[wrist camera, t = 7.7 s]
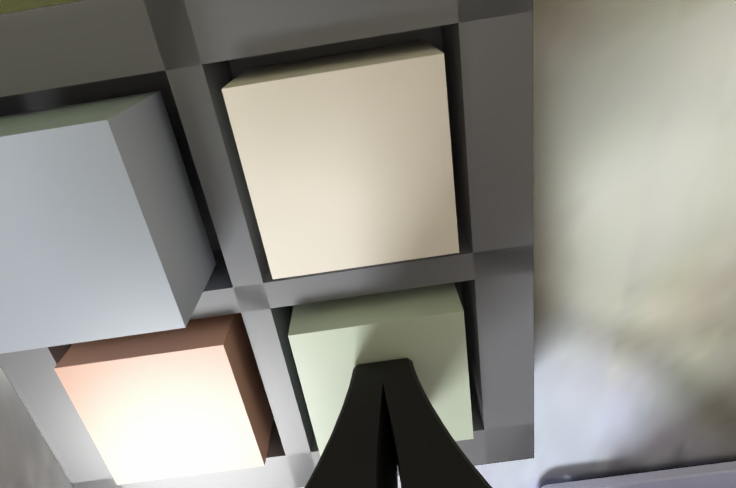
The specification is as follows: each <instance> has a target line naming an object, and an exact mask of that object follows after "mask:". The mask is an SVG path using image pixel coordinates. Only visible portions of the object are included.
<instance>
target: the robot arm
mask: <svg viewBox="0 0 736 488" xmlns="http://www.w3.org/2000/svg"><path fill="white" fill-rule="evenodd" d="M397 466H398V471H399V476H400V481H401V488H492V487H491V486H490V485H489V484H488V482H487V481H486V480H485V479H484V478H483V476H482V475H481V474H480V473H479V472H478V470H477V469H476V468H475V467H474V466H473V464H472V463H471V462H470V460H469V459H468V458H467V457H466V455H465V454H464V453H463V451H462V450H461V449H460V447H459V446H458V444H457V443H456V442H455V440H454V439H453V437H452V436H451V434H450V433H449V431H448V430H447V428H446V427H445V425H444V424H443V422H442V421H441V419H440V417H439V416H438V414H437V413H436V411H435V409H434V408H433V406H432V404H431V403H430V401H429V399H428V397H427V395H426V393H425V391H424V389H423V387H422V385H421V383H420V381H419V379H418V377H417V374H416V371H415V369H414V365H413V361H412V360H410V359H409V358H402V359H394V360H387V361H380V362H372V363H365V364H358V365H356V366H355V367H354V369H353V372H352V377H351V381H350V384H349V388H348V391H347V394H346V397H345V400H344V403H343V406H342V409H341V411H340V414H339V416H338V419H337V421H336V424H335V426H334V429H333V431H332V434H331V436H330V438H329V440H328V442H327V444H326V447H325V449H324V451H323V453H322V455H321V457H320V459H319V461H318V463H317V465H316V467H315V469H314V471H313V473H312V475H311V477H310V479H309V480H308V482H307V484H306V486H305V488H398V479H397ZM541 488H736V461H732V462H724V463H716V464H708V465H700V466H692V467H684V468H676V469H668V470H660V471H652V472H644V473H636V474H628V475H620V476H612V477H604V478H596V479H588V480H580V481H572V482H564V483H556V484H548V485H544V486H542V487H541Z"/></svg>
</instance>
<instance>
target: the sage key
mask: <svg viewBox="0 0 736 488" xmlns="http://www.w3.org/2000/svg"><path fill="white" fill-rule="evenodd" d="M288 338H289V342H290V345H291V349H292V353H293V356H294V360H295V364H296V368H297V371H298V375H299V379H300V382H301V386H302V390H303V394H304V397H305V401H306V405H307V408H308V412H309V416H310V419H311V423H312V427H313V431H314V434H315V438H316V442H317V445H318V449H319V453H320V457H321V455H322V453H323V451H324V449H325V447H326V444H327V442H328V440H329V438H330V436H331V434H332V431H333V429H334V426H335V424H336V421H337V419H338V416H339V414H340V411H341V409H342V406H343V403H344V400H345V397H346V394H347V391H348V388H349V384H350V381H351V377H352V372H353V369H354V367H355V366H356V365H358V364H365V363H372V362H380V361H387V360H394V359H402V358H409V359H410V360H412V361H413V365H414V369H415V371H416V374H417V377H418V379H419V381H420V383H421V385H422V387H423V389H424V391H425V393H426V395H427V397H428V399H429V401H430V403H431V404H432V406H433V408H434V409H435V411H436V413H437V414H438V416H439V417H440V419H441V421H442V422H443V424H444V425H445V427H446V428H447V430H448V431H449V433H450V434H451V436H452V437H453V439H454V440H455V441H461V440H469V439H474V437H473V424H472V411H471V398H470V385H469V372H468V359H467V346H466V333H465V320H464V310H463V308H462V305H461V302H460V299H459V296H458V293H457V290H456V287H455V284H454V283H447V284H440V285H433V286H426V287H419V288H412V289H405V290H397V291H390V292H383V293H376V294H369V295H362V296H355V297H348V298H341V299H334V300H327V301H320V302H313V303H306V304H299V305H293V311H292V316H291V322H290V327H289V333H288Z"/></svg>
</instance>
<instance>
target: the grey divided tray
mask: <svg viewBox="0 0 736 488" xmlns="http://www.w3.org/2000/svg"><path fill="white" fill-rule="evenodd" d="M422 40H426V41H428V42H429V43H430V44H432V45H433V46H435V47H436V48H437V49H439V50H440V51H441V52H443V53H444V60H445V73H446V86H447V99H448V112H449V125H450V138H451V151H452V164H453V177H454V190H455V203H456V216H457V229H458V242H459V253H454V254H447V255H440V256H433V257H426V258H419V259H412V260H405V261H398V262H391V263H384V264H377V265H370V266H363V267H356V268H349V269H342V270H335V271H328V272H322V273H315V274H308V275H301V276H294V277H287V278H280V279H272V275H271V271H270V268H269V264H268V260H267V257H266V253H265V249H264V245H263V242H262V238H261V234H260V231H259V227H258V223H257V219H256V216H255V212H254V208H253V205H252V201H251V197H250V193H249V190H248V186H247V182H246V179H245V175H244V171H243V168H242V164H241V160H240V156H239V153H238V149H237V145H236V142H235V138H234V134H233V130H232V127H231V123H230V119H229V116H228V112H227V108H226V105H225V101H224V97H223V93H222V90H221V89H222V88H223V87H224V86H226V85H227V84H228V83H229V82H231V81H232V80H233V79H234V78H236V77H237V76H238V75H240V74H241V73H242V72H243V71H245V70H246V69H249V68H255V67H261V66H267V65H273V64H280V63H286V62H292V61H298V60H304V59H311V58H317V57H323V56H329V55H335V54H342V53H348V52H354V51H360V50H366V49H373V48H379V47H385V46H391V45H398V44H404V43H410V42H416V41H422ZM155 91H161V94H162V97H163V100H164V103H165V107H166V110H167V113H168V116H169V119H170V122H171V125H172V128H173V131H174V134H175V138H176V141H177V144H178V147H179V150H180V153H181V156H182V159H183V162H184V165H185V169H186V172H187V175H188V178H189V181H190V184H191V187H192V190H193V193H194V197H195V200H196V203H197V206H198V209H199V212H200V215H201V218H202V221H203V224H204V228H205V231H206V234H207V237H208V240H209V243H210V246H211V249H212V252H213V255H214V259H215V262H216V266H215V268H214V270H213V272H212V274H211V276H210V278H209V280H208V282H207V285H206V287H205V289H204V291H203V293H202V295H201V297H200V299H199V301H198V303H197V305H196V307H195V309H194V311H193V313H192V315H191V318H190V320H193V319H200V318H207V317H214V316H221V315H228V314H235V313H241V314H242V317H243V320H244V324H245V327H246V330H247V333H248V336H249V340H250V343H251V346H252V349H253V352H254V356H255V359H256V362H257V365H258V368H259V372H260V375H261V378H262V381H263V384H264V388H265V391H266V394H267V397H268V400H269V404H270V407H271V410H272V413H273V416H274V417H273V423H272V429H271V434H270V440H269V445H268V451H267V456H266V462H265V466H260V467H253V468H245V469H237V470H229V471H222V472H214V473H206V474H198V475H191V476H183V477H175V478H167V479H160V480H152V481H144V482H136V483H129V484H121V485H117V484H116V482H115V480H114V478H113V477H112V475H111V473H110V471H109V469H108V467H107V465H106V464H105V462H104V460H103V458H102V456H101V454H100V453H99V451H98V449H97V447H96V445H95V443H94V442H93V440H92V438H91V436H90V434H89V432H88V430H87V429H86V427H85V425H84V423H83V421H82V419H81V418H80V416H79V414H78V412H77V410H76V408H75V407H74V405H73V403H72V401H71V399H70V397H69V395H68V394H67V392H66V390H65V388H64V386H63V384H62V383H61V381H60V379H59V377H58V375H57V373H56V372H55V370H54V368H55V366H56V365H57V364H58V362H59V361H60V360H61V359H62V357H63V356H64V355H65V353H66V352H67V351H68V350H69V348H70V347H71V346H72V344H66V345H59V346H52V347H45V348H38V349H31V350H24V351H17V352H10V353H2V354H0V366H1V368H2V370H3V371H4V373H5V375H6V376H7V378H8V380H9V381H10V383H11V385H12V386H13V388H14V390H15V391H16V393H17V395H18V396H19V398H20V400H21V401H22V403H23V405H24V406H25V408H26V410H27V411H28V413H29V415H30V416H31V418H32V420H33V421H34V423H35V425H36V426H37V428H38V429H39V431H40V433H41V434H42V436H43V438H44V439H45V441H46V443H47V444H48V446H49V448H50V449H51V451H52V453H53V454H54V456H55V458H56V459H57V461H58V463H59V464H60V466H61V468H62V469H63V471H64V473H65V474H66V476H67V478H68V479H69V481H70V483H71V484H72V486H73V488H301V487H305V486H306V484H307V482H308V480H309V479H310V477H311V475H312V473H313V471H314V469H315V467H316V465H317V463H318V461H319V459H320V453H319V449H318V445H317V442H316V438H315V434H314V431H313V427H312V423H311V419H310V416H309V412H308V408H307V405H306V401H305V397H304V394H303V390H302V386H301V382H300V379H299V375H298V371H297V368H296V364H295V360H294V356H293V353H292V349H291V345H290V342H289V338H288V333H289V327H290V322H291V316H292V311H293V305H299V304H306V303H313V302H320V301H327V300H334V299H341V298H348V297H355V296H362V295H369V294H376V293H383V292H390V291H397V290H405V289H412V288H419V287H426V286H433V285H440V284H447V283H454V284H455V287H456V290H457V293H458V296H459V299H460V302H461V305H462V308H463V310H464V320H465V333H466V346H467V359H468V372H469V385H470V398H471V411H472V424H473V437H474V439H469V440H461V441H455V442H456V443H457V444H458V446H459V447H460V449H461V450H462V451H463V453H464V454H465V455H466V457H467V458H468V459H469V460H470V462H471V463H472V464H473V466H475V465H483V464H490V463H498V462H506V461H514V460H522V459H530V458H534V260H533V0H83V1H77V2H71V3H65V4H59V5H53V6H47V7H41V8H35V9H29V10H23V11H18V12H12V13H6V14H0V116H6V115H12V114H18V113H24V112H31V111H37V110H43V109H49V108H56V107H62V106H68V105H74V104H80V103H87V102H93V101H99V100H105V99H112V98H118V97H124V96H130V95H137V94H143V93H149V92H155ZM397 475H399V471H398V466H397Z"/></svg>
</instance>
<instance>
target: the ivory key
mask: <svg viewBox="0 0 736 488" xmlns="http://www.w3.org/2000/svg"><path fill="white" fill-rule="evenodd" d="M221 90H222V93H223V97H224V101H225V105H226V108H227V112H228V116H229V119H230V123H231V127H232V130H233V134H234V138H235V142H236V145H237V149H238V153H239V156H240V160H241V164H242V168H243V171H244V175H245V179H246V182H247V186H248V190H249V193H250V197H251V201H252V205H253V208H254V212H255V216H256V219H257V223H258V227H259V231H260V234H261V238H262V242H263V245H264V249H265V253H266V257H267V260H268V264H269V268H270V271H271V275H272V279H280V278H287V277H294V276H301V275H308V274H315V273H322V272H328V271H335V270H342V269H349V268H356V267H363V266H370V265H377V264H384V263H391V262H398V261H405V260H412V259H419V258H426V257H433V256H440V255H447V254H454V253H459V242H458V229H457V216H456V203H455V190H454V177H453V164H452V151H451V138H450V125H449V112H448V99H447V86H446V73H445V60H444V53H443V52H441V51H440V50H439V49H437V48H436V47H435V46H433V45H432V44H430V43H429V42H428V41H426V40H422V41H416V42H410V43H404V44H398V45H391V46H385V47H379V48H373V49H366V50H360V51H354V52H348V53H342V54H335V55H329V56H323V57H317V58H311V59H304V60H298V61H292V62H286V63H280V64H273V65H267V66H261V67H255V68H249V69H246V70H245V71H243V72H242V73H241V74H240V75H238V76H237V77H236V78H234V79H233V80H232V81H231V82H229V83H228V84H227V85H226V86H224V87H223V88H222V89H221Z"/></svg>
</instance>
